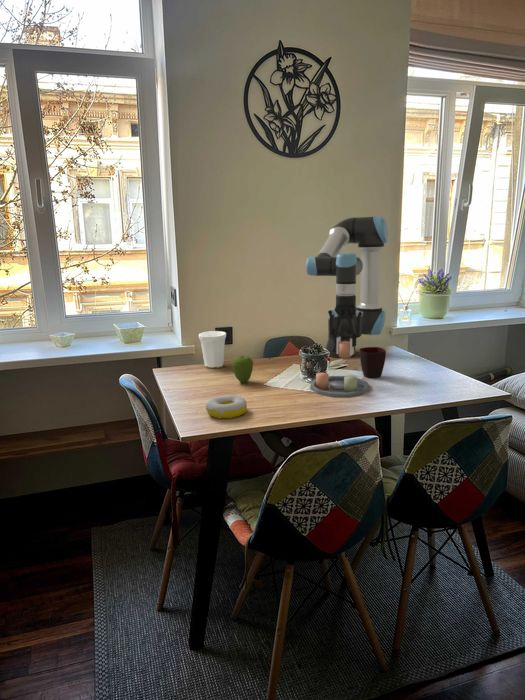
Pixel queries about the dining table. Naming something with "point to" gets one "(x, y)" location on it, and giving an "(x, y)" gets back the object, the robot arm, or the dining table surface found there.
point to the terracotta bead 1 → (322, 381)
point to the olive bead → (350, 384)
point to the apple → (242, 368)
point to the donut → (226, 406)
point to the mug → (372, 361)
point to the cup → (213, 347)
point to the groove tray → (340, 387)
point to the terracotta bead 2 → (344, 349)
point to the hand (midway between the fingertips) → (345, 353)
